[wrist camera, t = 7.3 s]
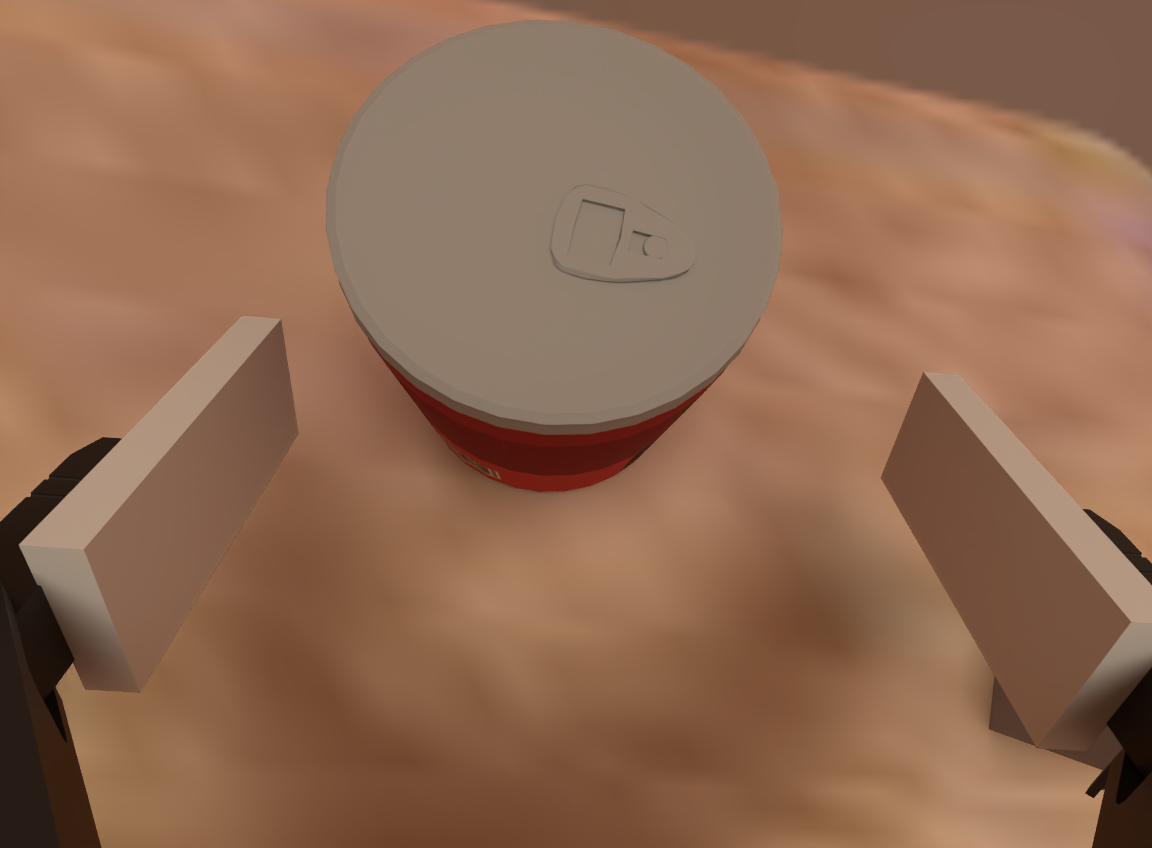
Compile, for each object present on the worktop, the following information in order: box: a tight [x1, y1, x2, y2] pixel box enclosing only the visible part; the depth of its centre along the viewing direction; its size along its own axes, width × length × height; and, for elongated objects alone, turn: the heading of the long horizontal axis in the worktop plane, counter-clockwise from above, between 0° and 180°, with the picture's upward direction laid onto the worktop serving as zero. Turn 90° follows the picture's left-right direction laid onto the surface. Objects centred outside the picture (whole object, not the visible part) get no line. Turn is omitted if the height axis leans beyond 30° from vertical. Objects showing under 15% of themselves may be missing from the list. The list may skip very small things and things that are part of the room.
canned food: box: [326, 20, 783, 491], centre depth 17 cm, size 8×8×11 cm
